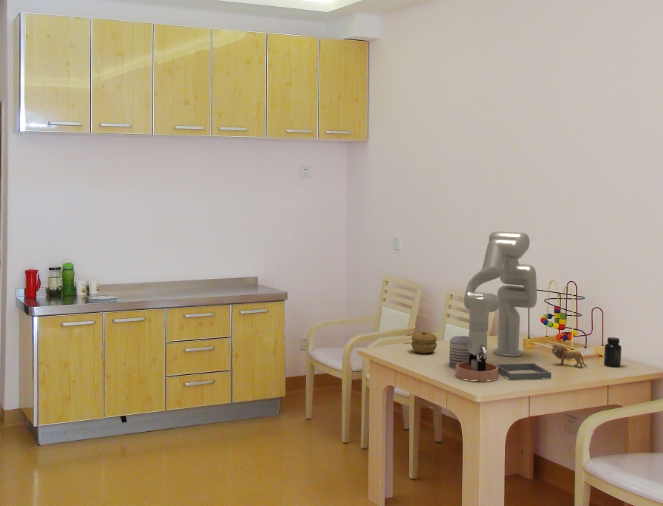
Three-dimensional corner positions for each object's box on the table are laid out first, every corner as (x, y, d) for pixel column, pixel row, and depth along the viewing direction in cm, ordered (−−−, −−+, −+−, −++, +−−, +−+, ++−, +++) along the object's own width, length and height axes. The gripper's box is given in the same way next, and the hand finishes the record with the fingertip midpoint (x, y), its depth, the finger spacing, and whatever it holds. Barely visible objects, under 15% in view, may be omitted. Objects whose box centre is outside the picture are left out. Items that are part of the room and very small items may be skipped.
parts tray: (494, 370, 314) (494, 364, 313) (534, 369, 317) (534, 363, 316) (509, 380, 298) (509, 374, 298) (550, 378, 301) (551, 372, 301)
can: (479, 365, 322) (480, 338, 320) (470, 371, 312) (471, 342, 311) (454, 361, 327) (455, 334, 326) (444, 367, 318) (445, 339, 317)
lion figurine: (551, 365, 323) (551, 345, 322) (551, 362, 328) (552, 342, 327) (586, 369, 318) (587, 348, 317) (587, 366, 323) (588, 345, 322)
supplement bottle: (619, 364, 327) (621, 337, 326) (621, 368, 321) (622, 340, 320) (603, 363, 329) (604, 336, 328) (604, 366, 323) (605, 339, 322)
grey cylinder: (468, 373, 305) (469, 359, 304) (480, 373, 306) (481, 358, 305) (473, 376, 300) (473, 362, 300) (485, 376, 301) (485, 361, 300)
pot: (441, 352, 345) (442, 331, 344) (426, 356, 336) (427, 334, 335) (421, 348, 353) (421, 327, 352) (405, 352, 344) (406, 330, 343)
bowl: (450, 371, 310) (450, 361, 309) (488, 370, 313) (488, 360, 312) (464, 382, 293) (464, 372, 293) (504, 381, 296) (504, 370, 296)
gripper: (462, 322, 309) (461, 363, 311) (477, 330, 292) (476, 373, 294) (479, 322, 310) (478, 362, 312) (495, 330, 293) (494, 373, 295)
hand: (477, 368), depth 303 cm, fingers open, 9 cm apart
